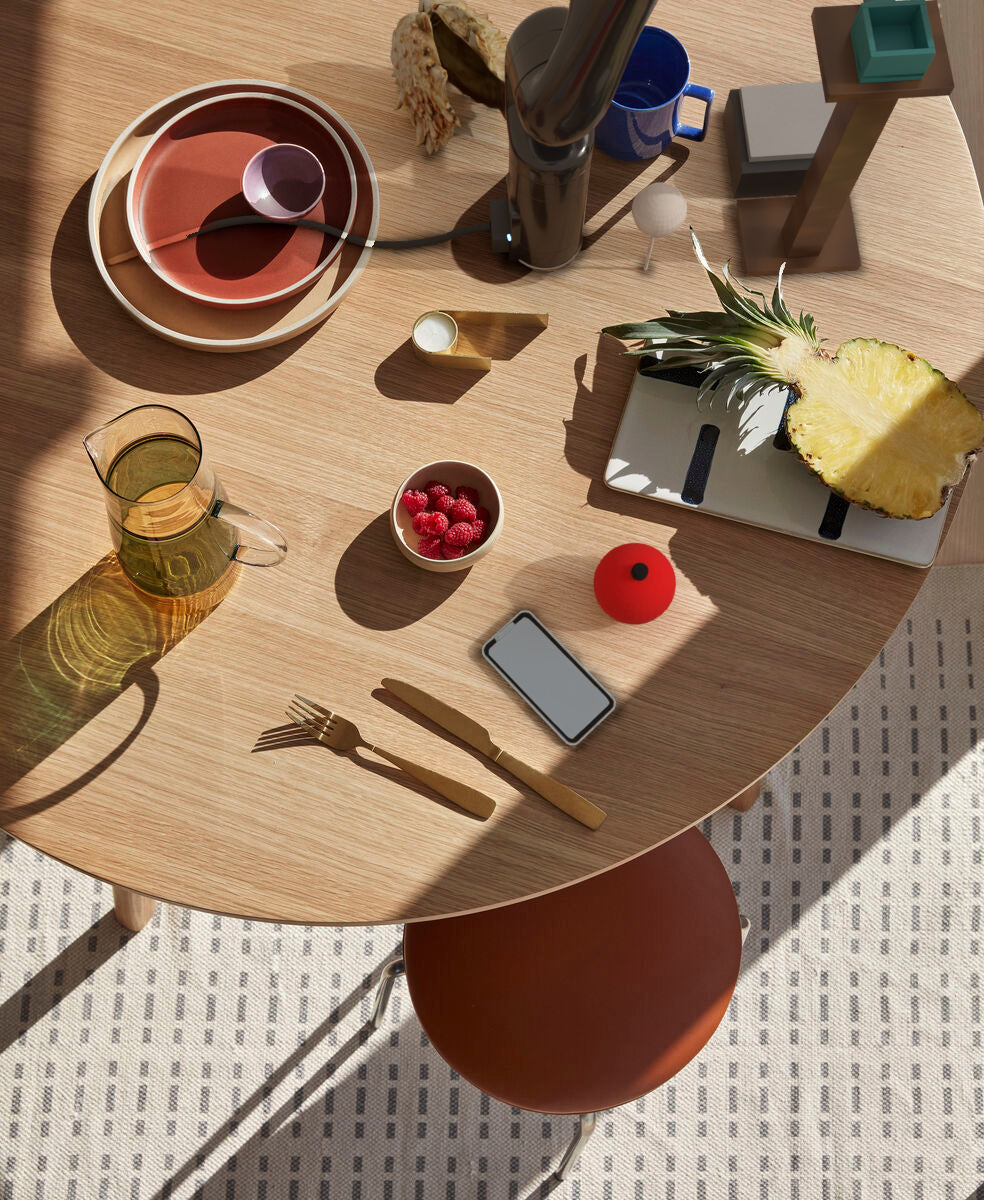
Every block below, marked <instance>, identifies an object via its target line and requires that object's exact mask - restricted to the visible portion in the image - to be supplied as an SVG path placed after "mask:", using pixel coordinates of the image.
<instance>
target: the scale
mask: <svg viewBox="0 0 984 1200" xmlns="http://www.w3.org/2000/svg"><path fill="white" fill-rule="evenodd" d="M836 103H837V102H836ZM836 103H825V97H824V91H823V85H822V81H810V82H792V83H777V84H758V85H744V86H740V87H739V88H731V89H729V91H728V96H727V99H726V103H725V105H724V109H723V113H722V116H721V117H722V124H723V132H724V137H725V138H724V139H725V146H726V152H727V159H728V165H729V174H730V181H731V187H732V188H731V189H732V194H733V199H745V198H746V199H750V198H762V197H765V198H766V197H777V196H780V197H781V196H794V195H795V196H797V194H798V191H799V189H800V187H801V184H802V182H803V180H804V177H805V175H806V173H807V170H808V168H809V166H810V163H811V161H812V159H813V157H814V154H815V152H816V150H817V147H818V145H819V143H820V140H821V138H822V136H823V133H824V131H825V129H826V126H827V124H828V122H829V119H830V117H831V115H832V113H833V110H834V108H835V106H836Z"/></svg>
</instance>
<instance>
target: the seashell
mask: <svg viewBox="0 0 984 1200" xmlns="http://www.w3.org/2000/svg"><path fill="white" fill-rule="evenodd" d="M508 41H509V39H508V38H507V34H506V33H505V32H502V31H501V29H500V27H498V26H495V25H494V22H493V21H492V20H489V13H488V12H485V13H479V12H477V11H476V9H475V8H474V7H471V6H470V5H468V4H467V2H466V0H418V6H417V11H413V12H411V13H407V14H406V15H404V16H402V17H401V18H399V20H398V21H397V24H396V27H395V29H394V30H393V31H392V37H391V50H390V55H389V59H390V62H391V64H392V66H393V71H392V73H391V78H395V79H394V84H395V85H397V86H396V88H395V91H396V93H399V95H398V98H397V100H396V102H395V104H394V111H399V110H400V109H401V108H402V107H403V108H405V107H406V111H407V112H408V117H409V121H410V123H411V124H412V126H413V128H414V129H415V131H416V132H415V133H416V135H415V138H416V139H415V142H416V143H415V144H416V148H419V146H424V147H425V148H426V150H427V153H428V154H429V156H432V155H433V154H435V153H436V152H438V150H439V149H440V146H444V147H446V146H448V143H449V141H450V139H451V138H452V137H453V135H454V129H455V126H458V127H459V128H461V127H462V125H461V121H460V119H459V118H458V116H457V114H456V112H455V110H454V109H453V107H452V106H451V104H450V101H449V98H448V94H447V90H446V85H448V84H450V85H452V86H453V87H455V88H456V89H458V91H459V92H460V93H461V94H462V95H463V96H467V97H468V98H470V99H471V100H472V101H473V102H475V103H476V104H479V105H483V106H485V107H486V108H488V109H492V110H499V112H500V113H501V115H502V117H503V119H504V121H506V113H505V52H506V47H507V44H508Z"/></svg>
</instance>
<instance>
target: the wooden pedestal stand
mask: <svg viewBox="0 0 984 1200" xmlns="http://www.w3.org/2000/svg"><path fill="white" fill-rule="evenodd" d="M925 1H926V7H927V12H928V17H929V22H930V27H931V32H932V37H933V41H934V46H935V51H936V53H935V55H934V57H933V59H932V61H931V63H930V65H929V67H928V69H927V71H926V72H925V74H924V76H923V78H922V80H908V81H891V82H875V83H859V80H858V74H857V69H856V63H855V57H854V52H853V46H852V41H851V35H850V29H851V26H852V24H853V21H854V19H855V17H856V14H857V12H858V9H859V7H860V4H861V3H859V4H858V3H857V4H845V5H828V6H827V5H826V6H814V7H813V9H812V11H811V15H810V20H811V25H812V32H813V38H814V43H815V49H816V54H817V55H816V56H817V61H818V62H817V63H818V67H819V72H820V79H821V82H822V85H823V91H824V97H825V103H836V102H837V103H836V106H835V108H834V110H833V113H832V115H831V117H830V119H829V122H828V124H827V126H826V129H825V131H824V133H823V136H822V138H821V140H820V143H819V145H818V147H817V150H816V152H815V154H814V157H813V159H812V161H811V163H810V166H809V168H808V170H807V173H806V175H805V177H804V180H803V182H802V184H801V187H800V189H799V191H798V194H796V195H795V196H782V197H781V196H780V197H765V198H746V199H737V200H736V201H735V204H734V209H735V217H736V224H737V231H738V237H739V238H738V239H739V245H740V252H741V259H742V267H743V273H744V277H745V278H750V277H751V278H752V277H765V276H780V275H779V270H780V267H781V265H782V264H783V263H784V262H786V264H785V268H784V270H783V273H782V275H797V274H813V273H814V274H815V273H829V272H830V273H831V272H845V271H847V272H848V271H858V270H859V269H860V268H861V266H862V262H861V255H860V248H859V243H858V238H857V237H858V236H857V231H856V226H855V220H854V215H853V214H854V213H853V207H852V201H851V196H850V195H851V194H852V192H853V190H854V188H855V186H856V184H857V182H858V180H859V178H860V176H861V174H862V172H863V170H864V169H865V166H866V164H867V162H868V161H869V158H870V156H871V155H872V152H873V150H874V149H875V146H876V145H877V143H878V140H879V139H880V136H881V135H882V133H883V131H884V129H885V127H886V125H887V123H888V121H889V119H890V117H891V115H892V113H893V111H894V109H895V108H896V105H897V104H898V101H899V100H901V99H914V98H930V97H933V98H934V97H947V96H948V97H949V96H951V94H952V93H953V91H954V89H955V87H956V86H955V82H954V75H953V71H952V67H951V63H950V56H949V52H948V46H947V42H946V36H945V32H944V27H943V22H942V17H941V13H940V8H939V3H938V0H925Z"/></svg>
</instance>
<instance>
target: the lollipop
mask: <svg viewBox="0 0 984 1200" xmlns="http://www.w3.org/2000/svg"><path fill="white" fill-rule="evenodd" d="M687 213H688V205H687V200H686V198H685V197H684V196H683V194H682V193H681V191H680V190H679V189H678V188H677V187H676V186H674V185H672V184H670V183H668V182H653V183H651V184H648V185H647V186H645V187H644V188H642V189H641V190H640V191H639V192H637V194H636V195H635V197H634V199H633V201H632V203H631V215H632V218H633V220H634V224H635V225H636V227H637V229H638V230H639V231H640V232H641V233H642V234H644V235H646V236H648V237H650V239H649V244H648V248H647V252H646V256H645V261H644V264H643V271H647V270H648V268H649V264H650V260H651V255H652V251H653V247H654V243H655V239H662V238H665V237H668V236H671V235H672V234H674V233H675V232H677V230H678V229H679V228H680V227H681V226H682V225H683V224H684V222H685V221H686V218H687Z"/></svg>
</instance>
